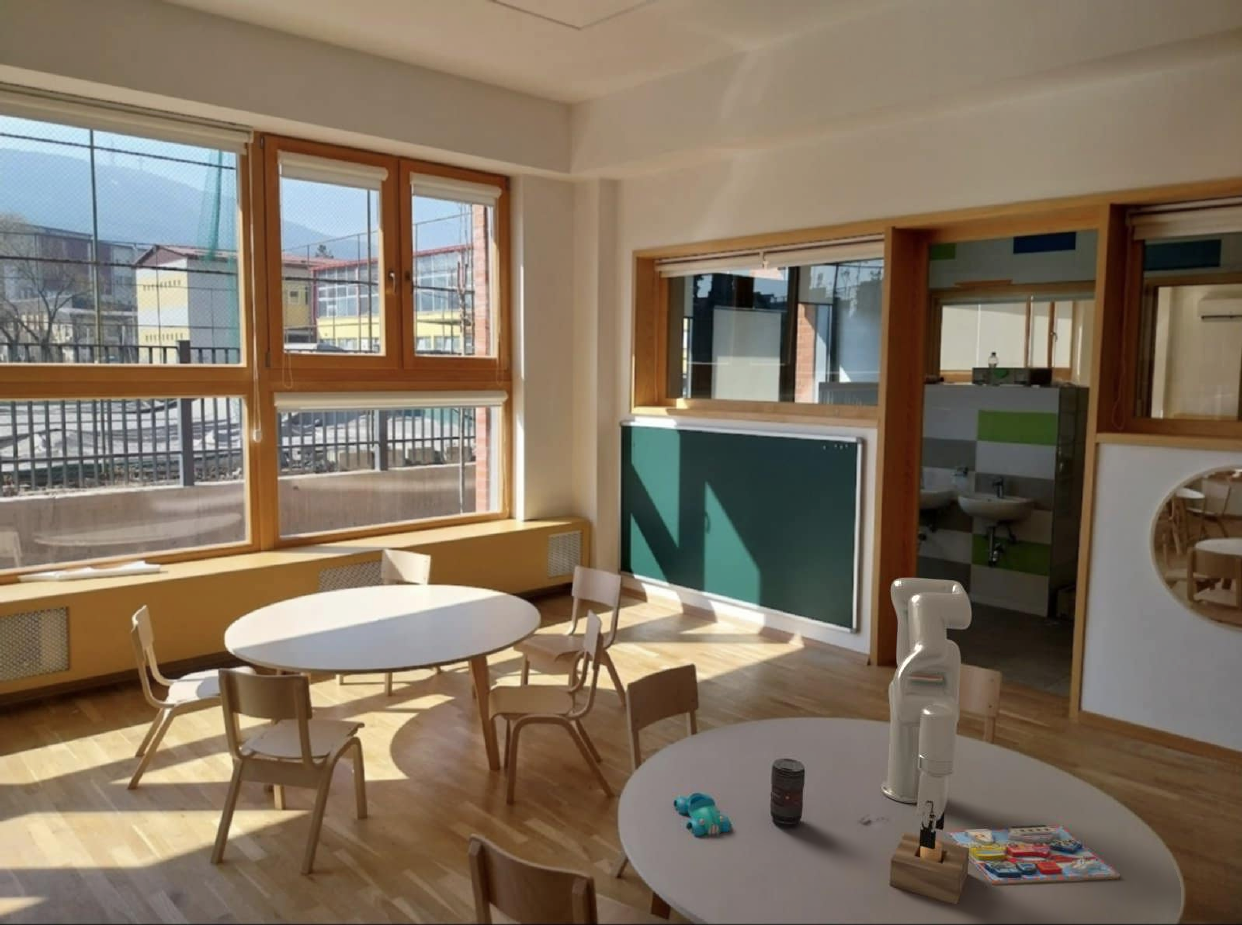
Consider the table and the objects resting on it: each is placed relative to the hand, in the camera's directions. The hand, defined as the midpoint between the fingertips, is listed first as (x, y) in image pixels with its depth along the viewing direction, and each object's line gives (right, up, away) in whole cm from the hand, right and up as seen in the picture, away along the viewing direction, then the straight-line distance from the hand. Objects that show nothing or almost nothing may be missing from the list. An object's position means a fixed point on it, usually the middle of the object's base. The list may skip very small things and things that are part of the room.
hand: (931, 837), depth 204 cm
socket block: (0, -10, +1) cm, 10 cm away
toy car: (-49, -7, +27) cm, 56 cm away
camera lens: (-28, -7, +26) cm, 38 cm away
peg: (0, -10, +1) cm, 10 cm away
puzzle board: (+27, -10, +13) cm, 31 cm away
